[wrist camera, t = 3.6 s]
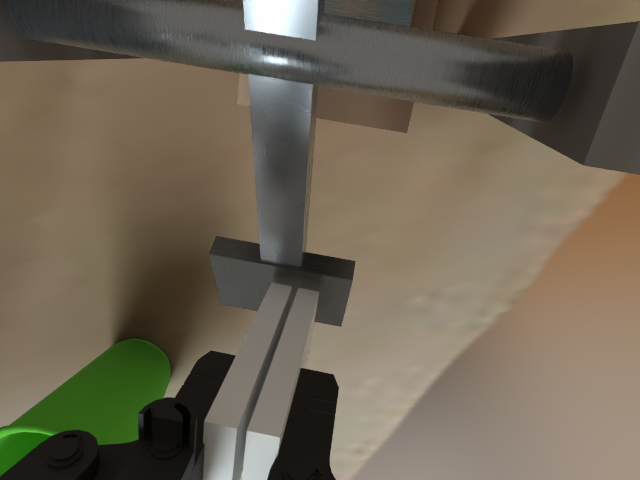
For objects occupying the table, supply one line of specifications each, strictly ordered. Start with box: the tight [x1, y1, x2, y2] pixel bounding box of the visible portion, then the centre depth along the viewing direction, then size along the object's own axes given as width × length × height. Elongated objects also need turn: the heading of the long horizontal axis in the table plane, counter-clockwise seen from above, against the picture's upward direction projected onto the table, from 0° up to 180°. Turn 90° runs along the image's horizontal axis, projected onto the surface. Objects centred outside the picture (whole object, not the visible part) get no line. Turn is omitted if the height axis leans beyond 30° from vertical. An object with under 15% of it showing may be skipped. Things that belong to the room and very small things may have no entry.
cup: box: [0, 339, 171, 476], centre depth 30 cm, size 9×9×11 cm
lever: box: [6, 0, 573, 327], centre depth 13 cm, size 11×19×12 cm
